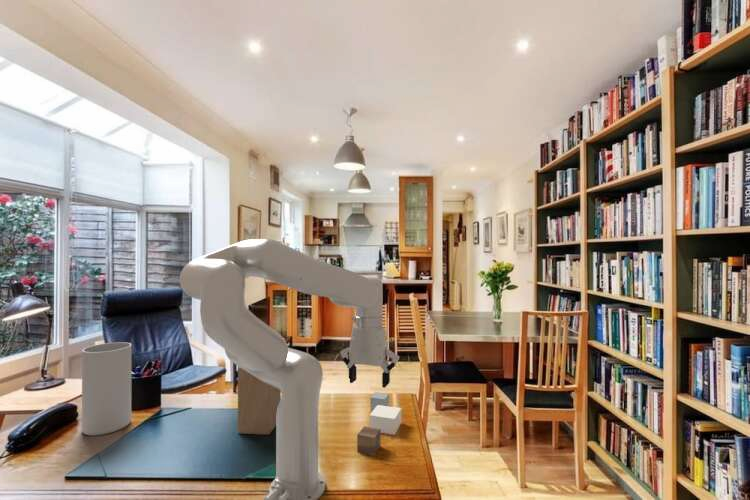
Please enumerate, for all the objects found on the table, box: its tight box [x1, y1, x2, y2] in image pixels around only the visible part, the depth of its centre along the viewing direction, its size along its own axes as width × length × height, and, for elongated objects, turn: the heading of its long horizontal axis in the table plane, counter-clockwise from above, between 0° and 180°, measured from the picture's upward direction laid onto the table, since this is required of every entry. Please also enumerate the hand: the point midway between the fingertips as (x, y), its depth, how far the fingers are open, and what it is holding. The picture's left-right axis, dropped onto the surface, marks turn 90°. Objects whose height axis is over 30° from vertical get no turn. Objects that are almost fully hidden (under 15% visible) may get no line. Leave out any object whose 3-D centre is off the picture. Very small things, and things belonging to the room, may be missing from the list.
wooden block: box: [237, 366, 282, 436], centre depth 114 cm, size 10×10×20 cm
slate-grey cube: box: [370, 391, 390, 413], centre depth 126 cm, size 5×5×5 cm
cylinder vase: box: [81, 341, 133, 437], centre depth 114 cm, size 12×12×25 cm
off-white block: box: [369, 405, 402, 436], centre depth 114 cm, size 8×8×5 cm
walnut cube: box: [356, 426, 382, 457], centre depth 101 cm, size 5×5×5 cm
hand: (368, 383), depth 101 cm, fingers open, 9 cm apart
